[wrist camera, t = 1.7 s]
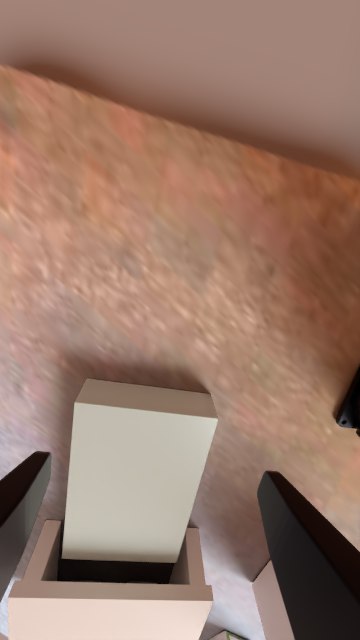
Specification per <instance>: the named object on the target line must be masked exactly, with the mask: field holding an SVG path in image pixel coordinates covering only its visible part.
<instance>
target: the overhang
mask: <svg viewBox="0 0 360 640" xmlns="http://www.w3.org/2000/svg"><path fill="white" fill-rule="evenodd" d="M60 531H61V521H57V520H46V521H45V524H44V526H43V529H42V531H41V534H40V536H39V539H38V541H37V544H36V546H35V549H34V551H33V554H32V556H31V559H30V561H29V564H28V566H27V569H26V571H25V574H24V576H23V579H22V581H17V580H15V582H14V584H13V586H12V589H11V591H10V594H9V596H8V639H9V640H199V637H200V635H201V632H202V630H203V627H204V625H205V622H206V619H207V617H208V614H209V612H210V609H211V606H212V604H213V594H212V587H211V585H206V584H205V576H204V568H203V561H202V553H201V545H200V537H199V530H198V528H186V531H185V535H184V538H183V542H182V545H181V548H180V552H179V555H178V559H177V562H176V563H175V564H174V568H173V571H172V575H171V578H170V581H169V584H155V582H135V581H128V583H100V582H101V581H97V580H72V582H57V571H58V557H59V544H60Z"/></svg>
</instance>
